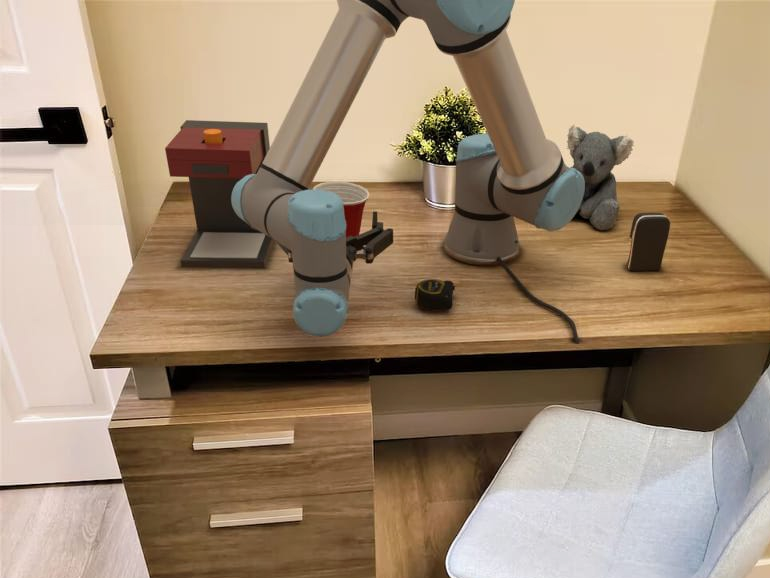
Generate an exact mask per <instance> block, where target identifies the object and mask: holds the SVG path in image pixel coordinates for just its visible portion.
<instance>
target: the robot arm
mask: <svg viewBox="0 0 770 578" xmlns="http://www.w3.org/2000/svg"><path fill="white" fill-rule="evenodd" d="M515 1H516V0H336V3H337V7H338V10H337V13H336V14H335V15H334V16H335V17H334V18H333V21H332V22H331V24H330V26H329V28H328V30H327V32H326V35H325V37H324V38H323V40H322V42H321V44H320V46H319V49H318V51H317V52H316V55H315V57H314V59H313V61H312V62H311V65H310V66H309V68H308V71H307V72H306V74H305V76H304V79H303V81H302V83H301V85H300V87H299V89H298V90H297V93H296V95H295V96H294V99H293V100H292V103H291V104H290V106H289V108H288V110H287V113H286V114H285V116H284V119H283V121H282V123H281V125H280V126H279V129H278V131H277V132H276V134H275V136H274V139H273V141H272V143H271V145H270V149H269V151H268V153H267V155H266V157H265V159H264V161H263V163H262V165H261V167H260V169H259V170H258V172H257V174H250V175H247V176H245V177H244V178H242V179H241V180H240V181H239V182H237V183H236V185H235V186H234V189H233V191H232V196H231V202H232V207H233V209H234V211H235V213H236V214H237V215H238V216H239V217H240V218H241V219H242V220H244V221H245V222H246V223H247V224H248V225H250V226H251V228H253V229H255V230H258V231H260V232H262V233H264V234H265V235H267V236H269V237H270V238H272V239H274V242H275V243H276V244H277V245H278V247H279V248H280V249H281V250H282V251H283V252H284V253H285V254H286V255H287V257H288V262H289V263H292V268H293V280H294V289H295V297H294V300H293V301H292V306H293V307H292V308H293V310H292V317H293V319H294V322H295V324H296V325H297V327H298V328H299V329H300V330H302V331H303V332H304V333H306V334H308V335H311V336H314V337H315V336H316V337H327V336H332V335H334V334H336V333H337V332H338V331H339V330H340V329H341V328H342V327H343V326H344V324H345V323H346V318H347V315H348V314H349V297H350V290H351V282H352V274H353V268H354V262H356V261H357V259H359V260H361V259H362V260H364V261H365V263H366V264H367V265H371V264H373V263H374V260H375V258H376V257H378V256H379V255H380V254H382V253H383V252H384V251H385V250H386V249H388V248H389V247H390V246H391V245H393V244H394V229H393V228H391V227H389V228H386V229H385V228H384V222H383V221H378V211H376V210H375V211H372V218H371V219H372V222H371V229H369V230H366V231H364V232H362V233H359V235H357V236H355V237H352V236H349V237H346V226H347V224H346V220H345V216H344V206H343V201H342V199H341V198H340V197H339V196H338V195H337V194H335V193H333V192H330V191H323V190H320V189H313V188H312V189H310V188H311V185H312V183H313V181H314V180H315V177H316V175H317V173H318V171H319V170H320V168H321V166H322V164H323V163H324V159H325V158H326V156H327V154H328V152H329V150H330V148H331V146H332V144H333V142H334V141H335V138H336V136H337V134H338V132H339V131H340V129H341V126H342V125H343V123H344V120H345V119H346V117H347V115H348V113H349V111H350V109H351V107H352V105H353V103H354V101H355V99H356V97H357V95H358V93H359V91H360V89H361V87H362V85H363V83H364V81H365V79H366V77H367V76H368V73H369V72H370V70H371V68H372V66H373V64H374V62H375V60H376V58H377V56H378V54H379V52H380V50H381V48H382V47H383V44H384V42H385V41H386V39H390V38H393V37H395V36H396V34H397V32H398V31H399V29H400V27H401V25H402V24H403V22H404V21H405V20H407V19H408V18H414V19H417V20H421V21H423V22H424V23H425V25H426V27H427V29H428V31H429V33H430V35H431V37H432V39H433V42H434V43H435V46H436V47H437V49H438V50H439V51H440V52H441V53H442V54H444V55H446V56H447V55H448V56H452V57H453V60H454V62H455V64H456V65H457V68H458V71H459V73H460V75H461V77H462V79H463V83H465V86H466V89H467V91H468V93H469V96H470V97H471V100H472V102H473V104H474V106H475V109H476V111H477V113H478V115H479V119H480V120H481V122H482V124H483V126H484V129H485V131H486V133H478V134H473V135H469V136H466V137H463V138H462V139H461V140H460V141H459V142H458V145H457V153H456V159H455V187H454V188H455V189H454V190H455V191H454V192H455V193H454V213H453V216H452V218H451V220H450V221H451V222H450V224H449V227H448V230H447V233H446V234H445V237H444V243H443V247H444V253H446V255H448V256H449V257H450V258H451V259H453V260H456V261H458V262H461V263H464V264H467V265H472V266H473V265H474V266H482V267H483V266H486V267H487V266H498V265H500V266H501V267H502V268H503V269H504V271H505V272H506V273H507V275H508V276H509V277H510V278H511V279H512V281H513V282H514V283H515V284H516V286H517V287H518V288H519V289H520V290H521V292H523V293H524V295H525V296H527V297H528V298H529V299H530V300H532V301H533V302H534V303H536V304H537V305H539V306H541V307H543V308H545V309H547V310H550V311H552V312H554V313H556V314H557V315H559V316H560V317H562V318H563V319H564V320H565V321H566V322H567V323H568V325H569V326H570V329H571V334H572V338H573V342H574V344H575V345H579V344H580V340H579V335H578V331H577V330H578V329H577V326H576V324H575V321H573V320H572V318H571V317H570V316H569V315H568V314H566V313H565V312H564V311H563V310H560V309H559V308H558V307H556V306H553V305H551V304H549V303H547V302H545V301H542V300H541V299H539V298H538V297H536V296H534V294H532V292H530V291H529V290H528V289H527V288H526V287H525V286H524V285H523V283H522V282H521V281H520V280H519V279H518V277H517V276H516V275H515V274H514V273H513V271H512V270H511V269H510V268H509V267H508V265H507V264H506V263H509V262H512V261H514V260H515V259H516V258H518V256H519V253H520V239H519V235H518V231H517V227H516V222H515V219H518V220H520V221H523V222H525V223H527V224H530V225H532V226H533V227H535V228H536V229H539V230H540V229H542V230H544V231H548V232H556V231H559V230H562V229H563V228H565V227H566V226H567V225H568V224H569V223H570V222H571V221H572V220H573V218H574V217H575V216H576V215H575V214H576V212H577V210H578V209H579V206H580V204H581V201H582V199H583V195H584V190H585V181H584V177H583V175H582V174H581V173H580V172H579V171H577V170H576V169H575V168H570V166H567V165H566V163H565V160H564V158H563V155H562V152H561V150H560V148H559V146H558V144H557V143H556V142H554V141H553V140H550V139H549V138H546V135H545V131H544V129H543V125H542V124H541V121H540V118H539V116H538V113H537V111H536V107H535V105H534V103H533V100H532V97H531V94H530V91H529V88H528V86H527V83H526V80H525V78H524V75H523V72H522V70H521V67H520V64H519V61H518V59H517V56H516V54H515V51H514V48H513V46H512V43H511V40H510V38H509V35H508V32H507V29H508V27H509V25H510V23H511V19H512V11H513V8H514V5H515ZM514 218H515V219H514Z"/></svg>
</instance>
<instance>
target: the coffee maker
mask: <svg viewBox="0 0 770 578" xmlns="http://www.w3.org/2000/svg"><path fill="white" fill-rule="evenodd" d="M208 129H218V130H221V132H222V140H223V144H205V140H204V133H203V131H205V130H208ZM270 147H271V145H270V134H269V125H268V122H257V121H256V122H252V121H227V120H225V121H223V120H222V121H221V120H197V119H196V120H194V119H193V120H192V119H186V120H185V121H184V122H183V123H182V124H181V125H180V130H179V131H178V132H177V133H176V135H174V137H173V138H172V139H171V141H169V143H167V145H166V146H165V148H164V151H165V157H166V162H167V168H168V174H169V177H171V178H172V177H173V178H188V182H189V183H188V184H189V186H190V187H189V188H190V194H191V200H192V206H193V212H194V220H195V225H196V231H195V234H194V236H193V237H192V239H191V241H190V242H189V245H188V246H187V247H186V249H185V252H183V255H182V257H181V258H180V261H179V262H180V267H181V268H190V269H191V268H193V269H194V268H195V269H197V268H198V269H199V268H201V269H202V268H203V269H266V266H267V263H268V261H269V257H270V255H271V251H272V249H273V245H274V243H275V240H274V239H272V238H270V237H269V236H267V235H265V234H264V233H262V232H260V231H258V230H255V229H253V228H251V226H250V225H248V224H247V223H246V222H245V221H244V220H242V219H241V218H240V217H239V216H238V215H237V214H236V213H235V211H234V209H233V207H232V202H231V196H232V191H233V189H234V186H235V185H236V183H237V182H239V181H240V180H241V179H242V178H244V177H245V176H247V175H250V174H257V172H258V170H259V169H260V167H261V165H262V163H263V161H264V159H265V157H266V155H267V153H268V151H269V149H270Z"/></svg>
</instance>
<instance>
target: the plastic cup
mask: <svg viewBox="0 0 770 578" xmlns="http://www.w3.org/2000/svg"><path fill="white" fill-rule="evenodd" d="M312 189H320V190H323V191H330V192H333V193H335V194H337V195H338V196H339V197H340V198H341V199H342V201H343V206H344V216H345V220H346V224H347V226H346V237H349V236H352V237H355V236H357V235H360V234H361V227H362V221H363V215H364V209H365V206H366V202H367V201H368V200H369V197H370V192H369V190H368V189H367V188H365V187H363V186H362V185H359V184H356V183H352V182H347V181H341V180H339V181H326V182H320V183H319V184H316V185H314V186H313V188H312Z"/></svg>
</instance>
